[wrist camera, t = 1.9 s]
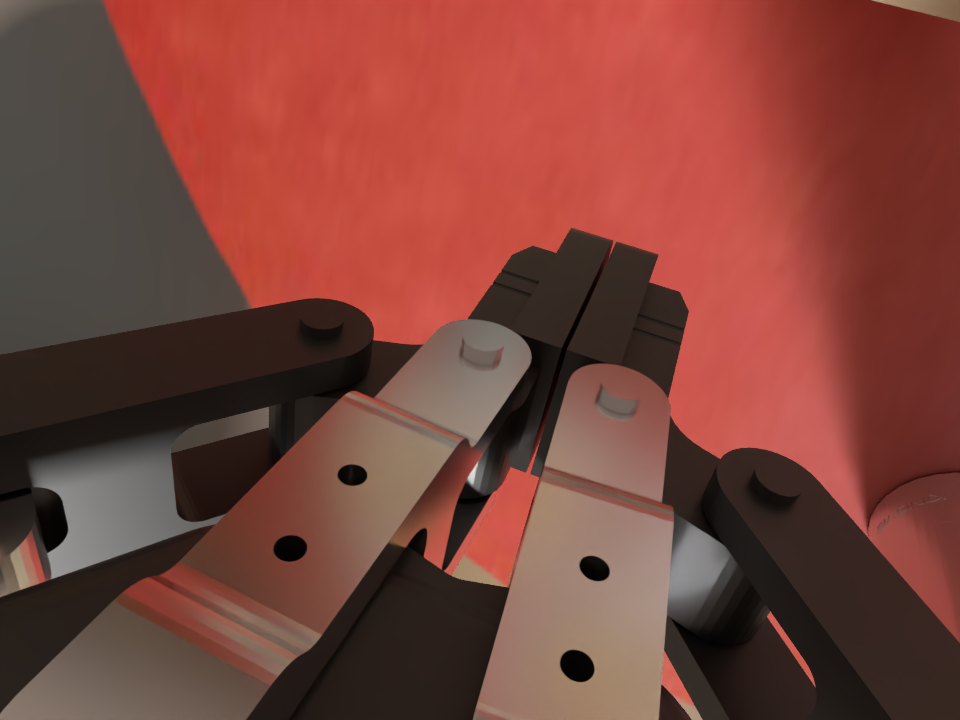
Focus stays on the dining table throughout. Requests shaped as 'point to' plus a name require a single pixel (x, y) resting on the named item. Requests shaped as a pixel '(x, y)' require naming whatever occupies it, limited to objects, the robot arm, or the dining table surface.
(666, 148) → the dining table surface
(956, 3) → the tea crate
